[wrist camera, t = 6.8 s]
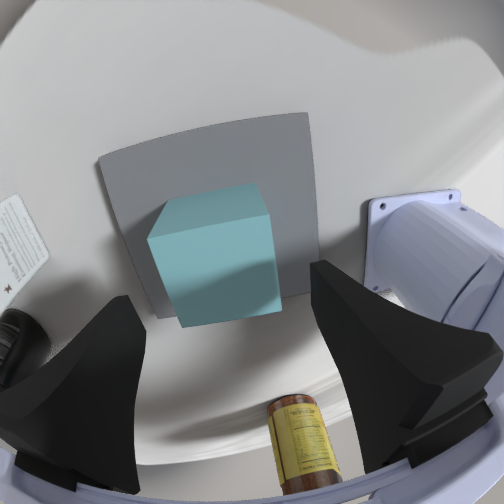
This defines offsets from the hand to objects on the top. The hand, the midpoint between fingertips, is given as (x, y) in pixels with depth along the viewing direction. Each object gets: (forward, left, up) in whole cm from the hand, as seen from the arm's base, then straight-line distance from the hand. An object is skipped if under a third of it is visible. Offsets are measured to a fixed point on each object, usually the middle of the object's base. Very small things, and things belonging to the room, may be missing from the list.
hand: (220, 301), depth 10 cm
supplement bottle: (+23, +7, -8) cm, 25 cm away
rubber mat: (0, 0, -8) cm, 8 cm away
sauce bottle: (-3, +24, -8) cm, 25 cm away
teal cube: (0, 0, -7) cm, 7 cm away
